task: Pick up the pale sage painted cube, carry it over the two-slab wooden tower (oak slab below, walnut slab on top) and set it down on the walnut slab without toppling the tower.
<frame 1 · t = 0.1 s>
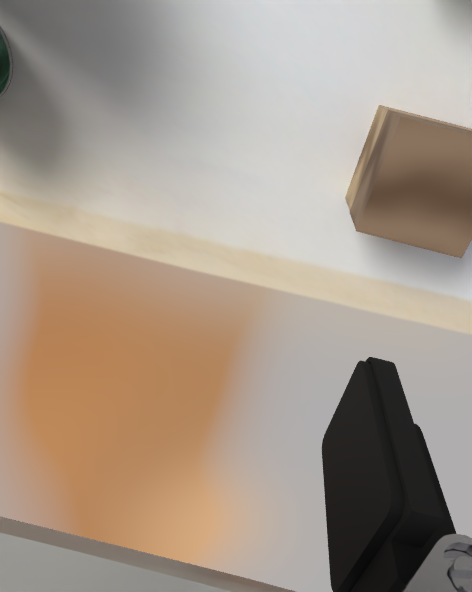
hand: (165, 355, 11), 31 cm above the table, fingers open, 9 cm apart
oak slab: (405, 164, 37), on the table, touching walnut slab
walnut slab: (417, 176, 33), point 4 cm above the table, touching oak slab
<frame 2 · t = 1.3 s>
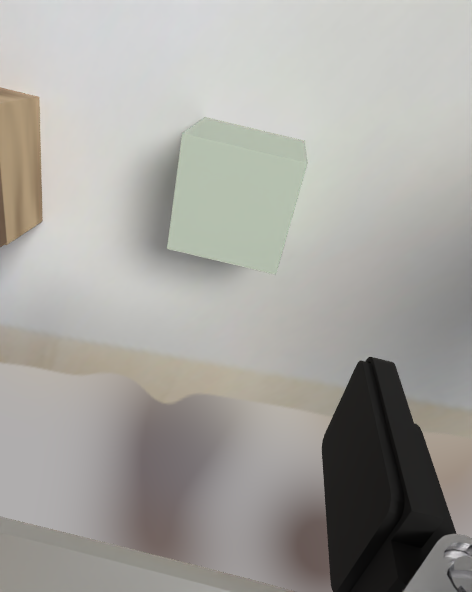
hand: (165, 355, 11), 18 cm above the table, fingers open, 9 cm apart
sage cube: (244, 178, 27), on the table
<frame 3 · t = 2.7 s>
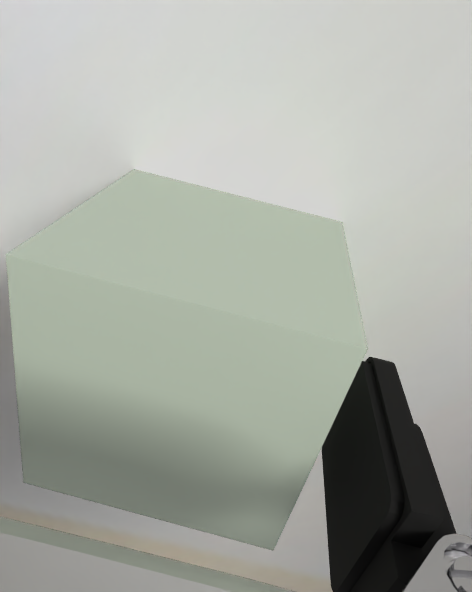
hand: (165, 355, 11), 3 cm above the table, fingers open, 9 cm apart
sage cube: (218, 285, 14), on the table
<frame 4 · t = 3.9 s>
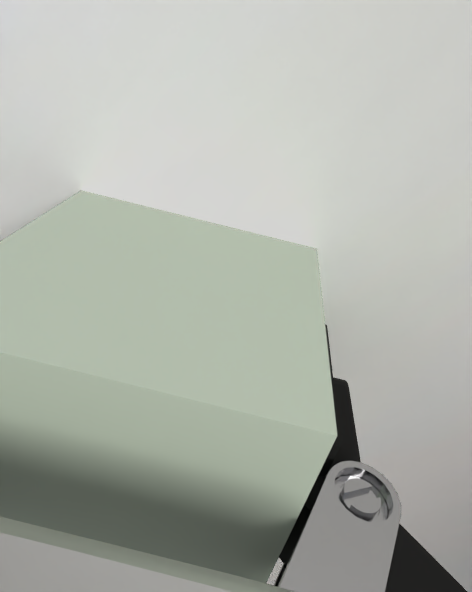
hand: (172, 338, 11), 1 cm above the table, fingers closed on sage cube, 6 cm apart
sage cube: (181, 318, 12), on the table, touching gripper
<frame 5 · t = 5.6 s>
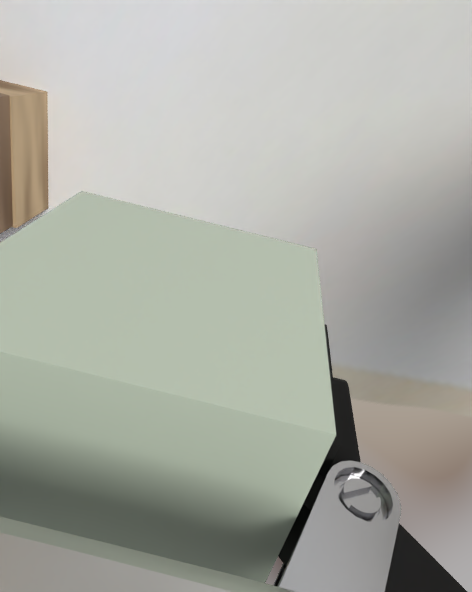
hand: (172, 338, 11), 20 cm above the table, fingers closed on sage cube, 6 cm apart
sage cube: (181, 318, 12), point 19 cm above the table, touching gripper
when the fingers open (11 cm above the table, at t = 9.5 s): sage cube drops 2 cm, resting on walnut slab.
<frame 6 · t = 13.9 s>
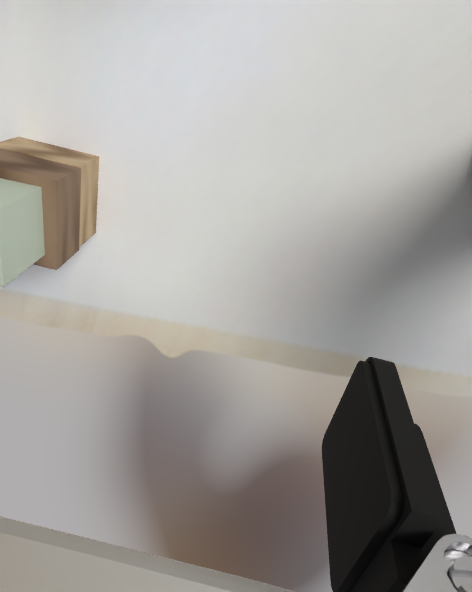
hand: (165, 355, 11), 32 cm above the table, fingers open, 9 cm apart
oak slab: (59, 186, 43), on the table, touching walnut slab
sage cube: (8, 214, 36), point 9 cm above the table, touching walnut slab
walnut slab: (38, 200, 39), point 4 cm above the table, touching oak slab, sage cube
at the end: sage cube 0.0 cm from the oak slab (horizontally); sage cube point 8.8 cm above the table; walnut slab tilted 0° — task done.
